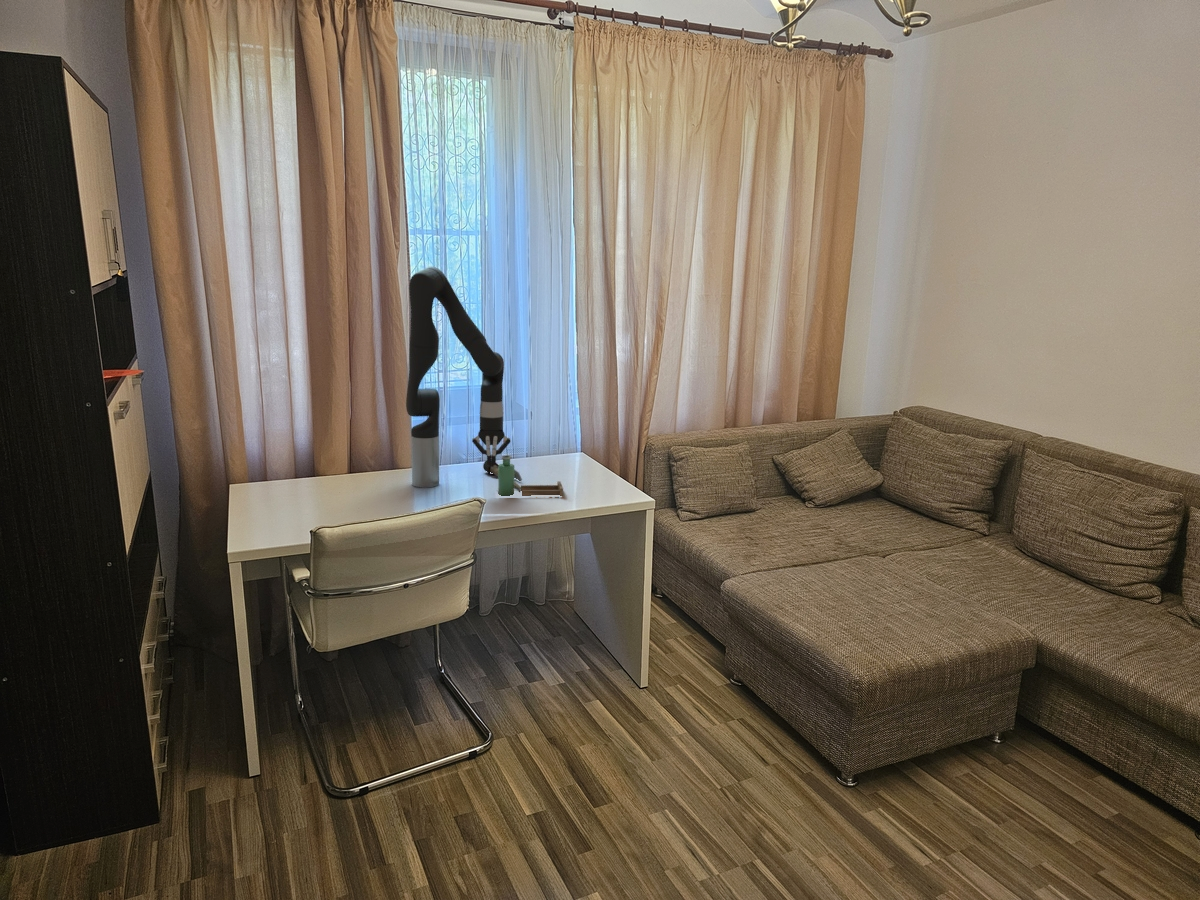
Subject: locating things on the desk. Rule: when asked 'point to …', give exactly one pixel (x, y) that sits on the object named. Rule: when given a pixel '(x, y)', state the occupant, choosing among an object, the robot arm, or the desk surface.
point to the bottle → (506, 477)
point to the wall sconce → (495, 471)
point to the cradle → (542, 489)
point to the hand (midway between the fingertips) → (491, 466)
